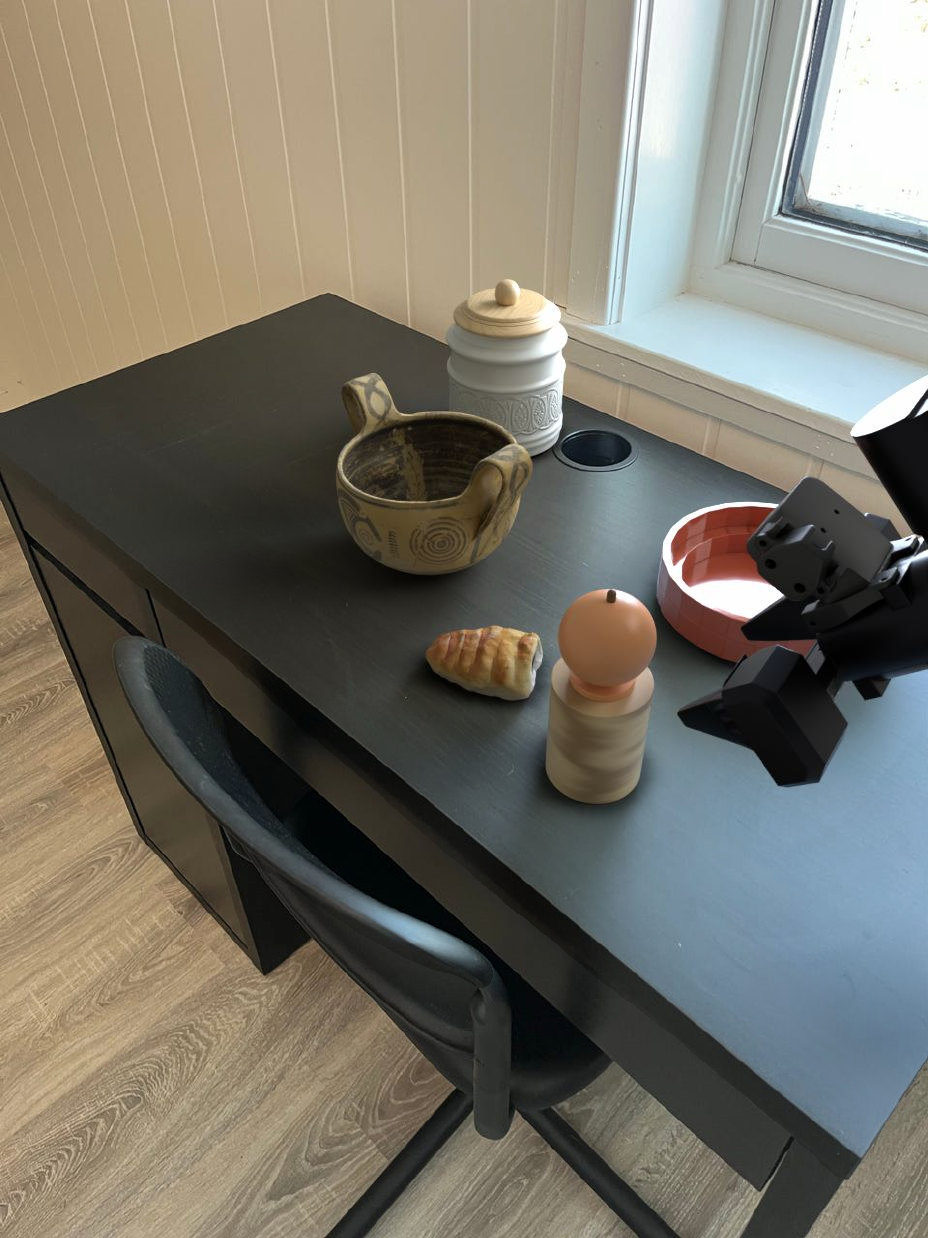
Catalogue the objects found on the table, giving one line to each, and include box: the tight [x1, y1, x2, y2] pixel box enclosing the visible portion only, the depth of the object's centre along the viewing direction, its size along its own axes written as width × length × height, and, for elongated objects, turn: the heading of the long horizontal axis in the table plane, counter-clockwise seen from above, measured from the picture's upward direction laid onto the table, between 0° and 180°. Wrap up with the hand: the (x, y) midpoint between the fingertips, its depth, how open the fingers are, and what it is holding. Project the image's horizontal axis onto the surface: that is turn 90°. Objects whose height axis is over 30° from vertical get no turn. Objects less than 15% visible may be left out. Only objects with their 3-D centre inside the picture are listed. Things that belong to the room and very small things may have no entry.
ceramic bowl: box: [335, 372, 534, 576], centre depth 86 cm, size 22×17×15 cm
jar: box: [445, 278, 568, 457], centre depth 103 cm, size 13×13×18 cm
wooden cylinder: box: [545, 656, 655, 805], centre depth 67 cm, size 7×7×9 cm
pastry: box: [425, 624, 544, 701], centre depth 77 cm, size 9×7×4 cm
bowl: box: [656, 501, 816, 664], centre depth 83 cm, size 18×18×5 cm
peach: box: [557, 588, 658, 702], centre depth 62 cm, size 6×6×8 cm
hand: (714, 673), depth 58 cm, fingers open, 9 cm apart
